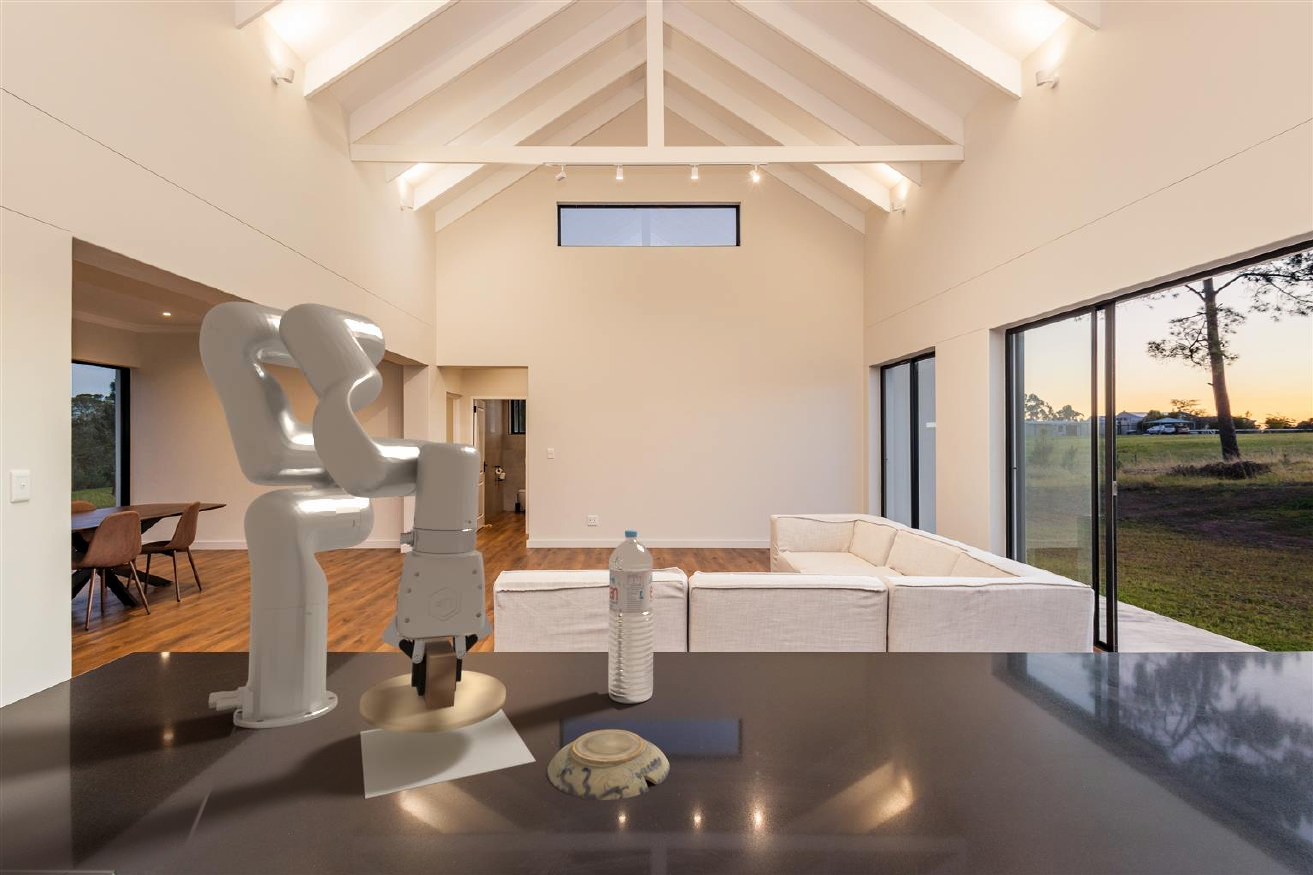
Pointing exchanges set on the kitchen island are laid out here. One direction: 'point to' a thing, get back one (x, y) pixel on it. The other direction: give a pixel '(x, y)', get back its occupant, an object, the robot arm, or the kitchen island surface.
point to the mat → (438, 755)
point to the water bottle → (630, 622)
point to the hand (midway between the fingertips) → (435, 688)
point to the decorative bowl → (607, 765)
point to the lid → (433, 696)
